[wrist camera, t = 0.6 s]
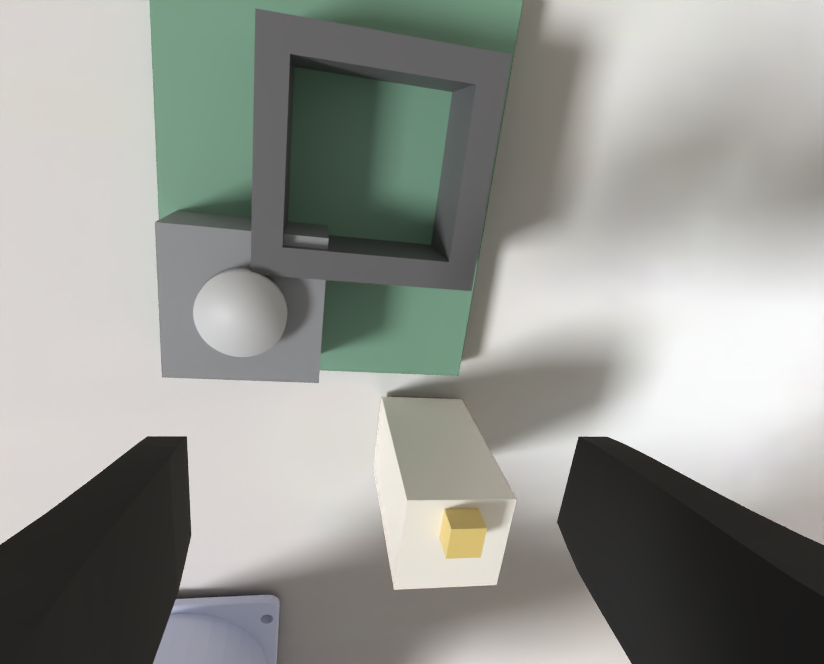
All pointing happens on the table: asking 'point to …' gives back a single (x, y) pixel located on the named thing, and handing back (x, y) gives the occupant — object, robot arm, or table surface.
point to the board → (323, 181)
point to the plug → (439, 495)
